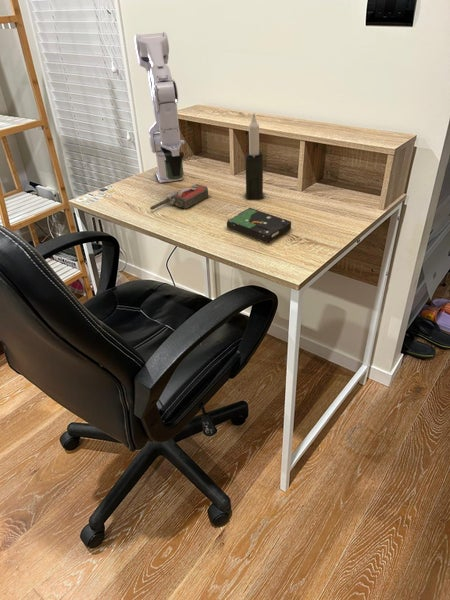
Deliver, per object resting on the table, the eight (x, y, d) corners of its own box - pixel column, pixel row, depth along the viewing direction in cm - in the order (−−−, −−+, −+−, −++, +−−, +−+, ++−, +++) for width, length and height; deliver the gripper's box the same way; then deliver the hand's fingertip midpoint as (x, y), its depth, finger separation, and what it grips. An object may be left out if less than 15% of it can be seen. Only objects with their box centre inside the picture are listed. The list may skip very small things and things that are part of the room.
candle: (262, 192, 145) (263, 110, 130) (262, 199, 141) (262, 115, 126) (247, 193, 145) (245, 111, 131) (246, 199, 141) (244, 115, 127)
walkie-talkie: (191, 190, 149) (148, 212, 137) (190, 177, 147) (146, 198, 134) (212, 195, 145) (169, 218, 132) (211, 182, 142) (168, 204, 130)
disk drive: (291, 230, 124) (249, 215, 132) (292, 221, 122) (249, 206, 130) (268, 245, 117) (225, 228, 126) (268, 235, 116) (225, 219, 124)
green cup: (164, 175, 142) (162, 159, 139) (181, 172, 143) (180, 157, 140) (167, 181, 138) (165, 165, 135) (185, 178, 139) (183, 162, 136)
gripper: (187, 131, 127) (192, 178, 135) (178, 119, 138) (182, 163, 146) (162, 134, 125) (168, 182, 133) (155, 122, 137) (160, 166, 145)
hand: (174, 172), depth 140 cm, fingers closed on green cup, 5 cm apart
